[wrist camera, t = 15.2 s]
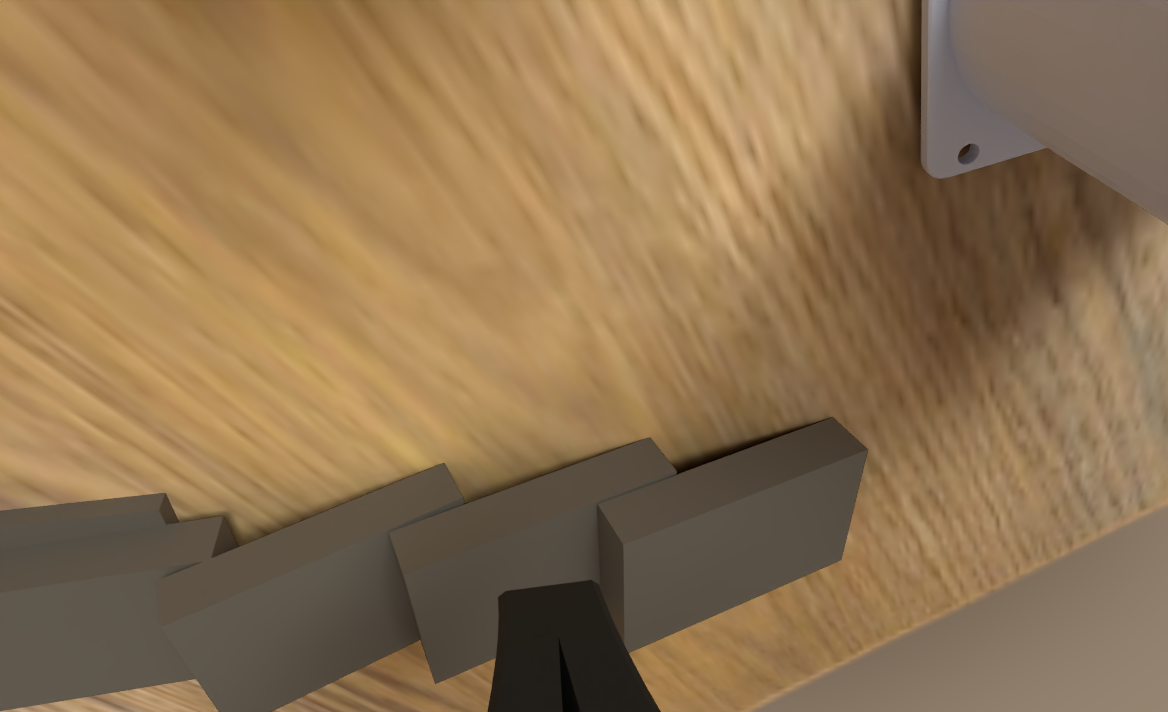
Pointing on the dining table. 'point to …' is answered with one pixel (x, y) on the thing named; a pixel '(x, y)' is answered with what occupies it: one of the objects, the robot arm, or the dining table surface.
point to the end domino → (83, 519)
